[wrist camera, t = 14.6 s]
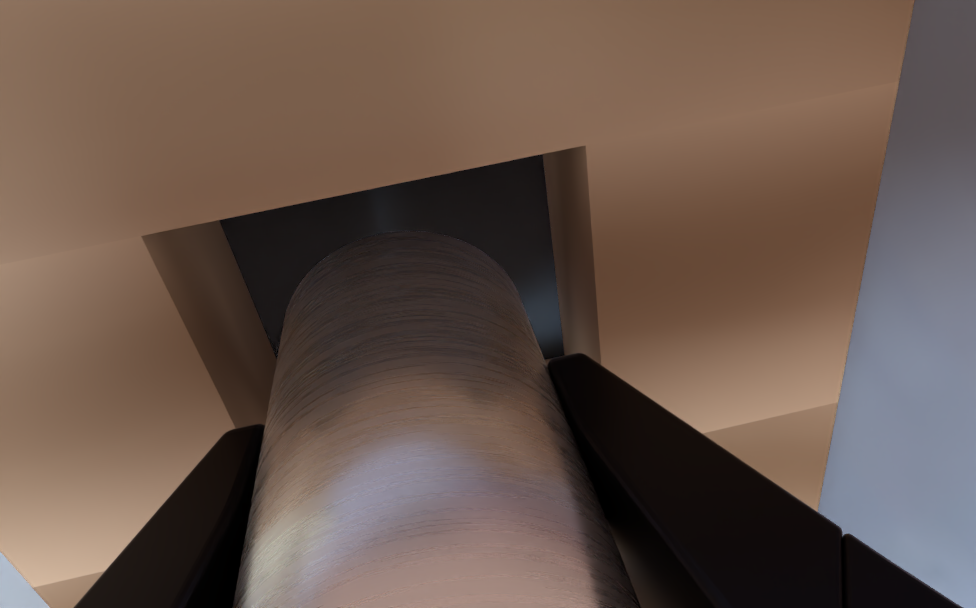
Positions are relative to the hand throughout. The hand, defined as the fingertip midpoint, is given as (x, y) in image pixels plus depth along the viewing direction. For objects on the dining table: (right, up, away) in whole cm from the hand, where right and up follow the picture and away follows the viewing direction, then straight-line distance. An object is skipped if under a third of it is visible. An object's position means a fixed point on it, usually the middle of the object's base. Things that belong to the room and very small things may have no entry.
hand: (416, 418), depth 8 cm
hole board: (0, -1, +5) cm, 5 cm away
